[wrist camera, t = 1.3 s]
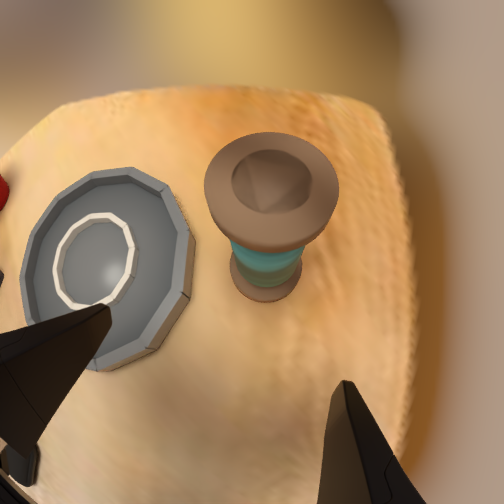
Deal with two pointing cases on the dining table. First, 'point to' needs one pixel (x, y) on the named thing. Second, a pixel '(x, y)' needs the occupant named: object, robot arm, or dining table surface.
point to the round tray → (112, 261)
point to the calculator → (1, 277)
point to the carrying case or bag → (21, 466)
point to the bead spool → (270, 208)
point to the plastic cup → (3, 192)
